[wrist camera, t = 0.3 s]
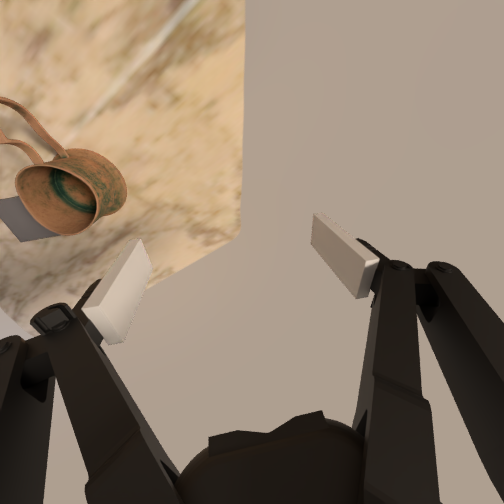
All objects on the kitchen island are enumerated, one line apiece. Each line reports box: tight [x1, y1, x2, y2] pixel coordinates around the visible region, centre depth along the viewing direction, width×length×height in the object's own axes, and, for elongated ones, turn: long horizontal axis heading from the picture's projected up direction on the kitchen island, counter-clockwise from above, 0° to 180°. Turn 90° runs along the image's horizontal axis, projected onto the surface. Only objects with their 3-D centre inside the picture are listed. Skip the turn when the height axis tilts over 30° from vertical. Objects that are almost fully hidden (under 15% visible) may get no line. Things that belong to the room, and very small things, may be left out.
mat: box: [0, 196, 61, 242], centre depth 38 cm, size 8×8×1 cm
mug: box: [0, 97, 127, 236], centre depth 30 cm, size 12×18×12 cm, turn 7°
